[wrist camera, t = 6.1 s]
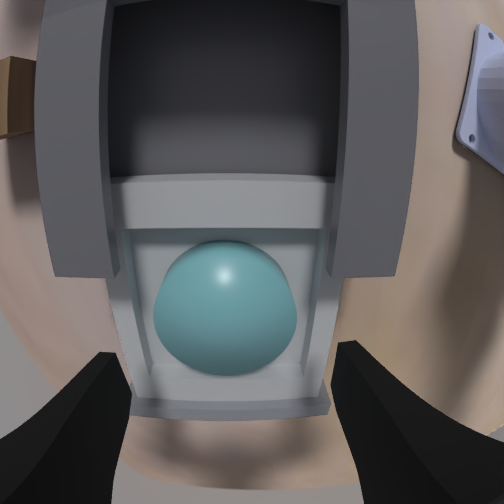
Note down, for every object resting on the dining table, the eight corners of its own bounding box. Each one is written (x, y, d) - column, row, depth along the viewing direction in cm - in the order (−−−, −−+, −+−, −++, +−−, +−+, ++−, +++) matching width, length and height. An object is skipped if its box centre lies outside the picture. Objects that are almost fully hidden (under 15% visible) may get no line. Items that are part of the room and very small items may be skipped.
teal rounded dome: (273, 354, 15) (277, 380, 13) (159, 339, 14) (152, 364, 12) (303, 251, 13) (314, 270, 11) (166, 229, 12) (156, 246, 10)
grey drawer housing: (358, -8, 10) (407, -47, 5) (349, 229, 14) (394, 276, 10) (103, -8, 9) (58, -48, 4) (102, 230, 14) (55, 276, 9)
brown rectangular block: (53, 64, 10) (10, 55, 7) (51, 127, 11) (7, 133, 8) (7, 80, 10) (-37, 78, 7) (6, 138, 11) (-38, 147, 8)
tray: (348, 175, 13) (377, 189, 10) (316, 377, 18) (327, 414, 15) (102, 175, 12) (71, 190, 9) (139, 377, 17) (129, 415, 14)
